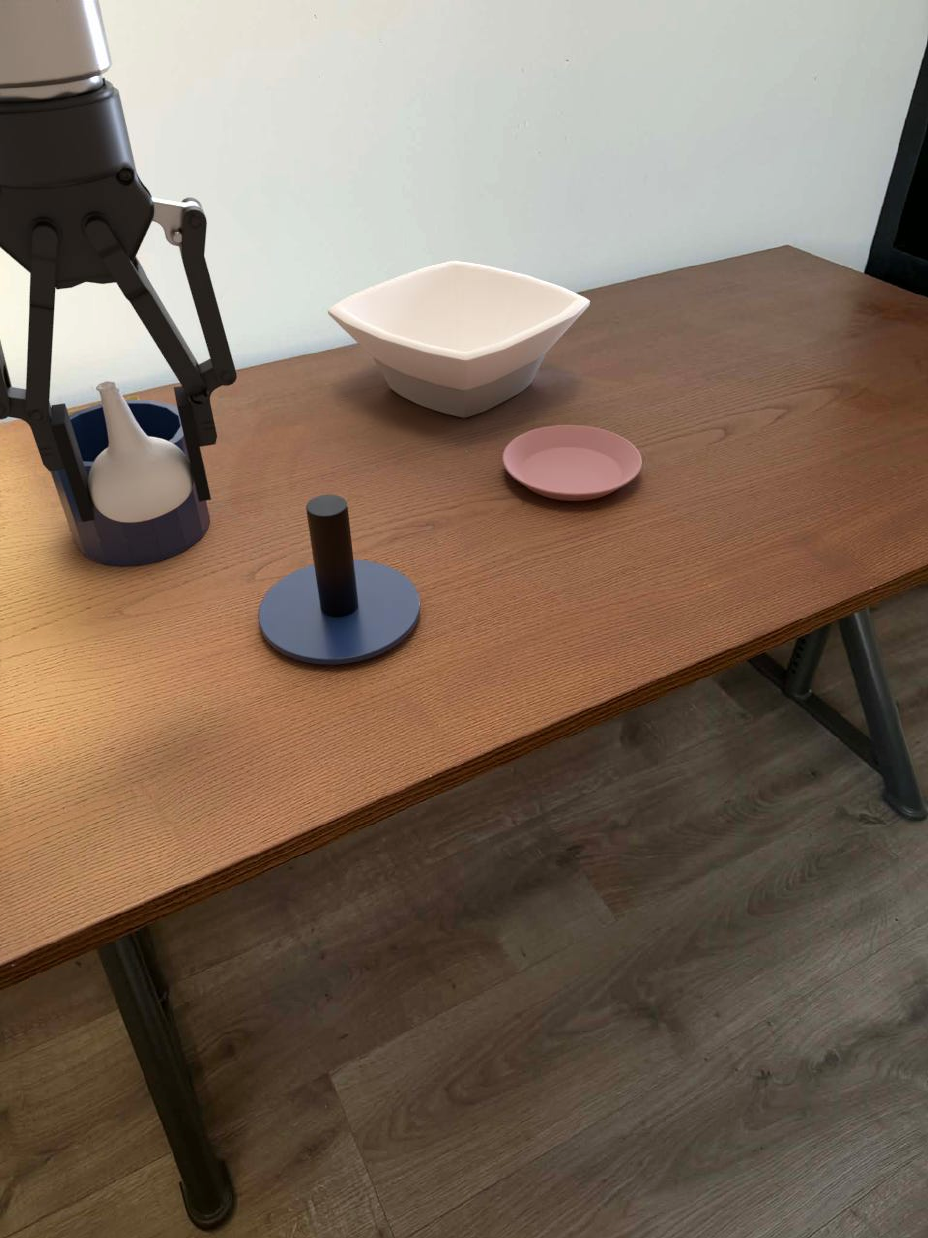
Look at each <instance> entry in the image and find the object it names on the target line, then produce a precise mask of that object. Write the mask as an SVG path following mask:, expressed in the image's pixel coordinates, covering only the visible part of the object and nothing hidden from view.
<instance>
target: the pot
mask: <svg viewBox="0 0 928 1238" xmlns="http://www.w3.org/2000/svg"><path fill="white" fill-rule="evenodd" d="M125 401H126V403H127V404H128V406H129V408H130V410H131V412H132V414H133V416H134V417H135V419H136V421H137V423H138V424H139V426H140V427H141V428H142V430H143V431H144V432H145V434H146V435H147V436H149V437H156V438H161V439H164V440H167V441H169V442H171V443H173V444H174V445H176V446H177V447H178V448H180V449H181V450H182V451H183V453H184V454H185V455H186V457H187V458H188V460H189V456H188V451H187V447H186V443H185V438H184V434H183V430H182V425H181V421H180V417H179V412H178V408H177V405H174V404H172V403H168V402H163V401H158V400H154V399H140V400H125ZM94 405H95V406H94ZM94 405H91V406H92V407H90V406H88V407H89V408H86V409H83V410H80V411H77V412H74V413H72V414H70V415H69V418H70V421H71V424H72V427H73V431H74V434H75V437H76V440H77V443H78V447H79V450H80V453H81V456H82V460H83V463H84V466H85V469H86V472H87V476H88V477H89V472H90V469H91V467H92V465H93V463H94V461H95V459H96V458H97V457H98V455H100V453H101V452H102V451H104V450H105V449H106V448H108V447H109V439H108V432H107V426H106V420H105V415H104V410H103V406H102V403H99V404H94ZM189 462H190V460H189ZM50 475H51V477H52V480H53V483H54V486H55V489H56V492H57V496H58V498H59V502H60V504H61V507H62V510H63V513H64V515H65V519H66V522H67V524H68V528H69V530H70V533H71V536H72V540H73V543H74V544H75V546H76V547H77V549H78V551H79V552H80V553H81V554H82V555H83V556H84V557H85V558H87V559H89V560H91V561H93V562H95V563H97V564H102V565H107V566H112V567H113V566H114V567H135V566H143V565H149V564H152V563H159V562H160V561H164V560H167V559H170V558H173V557H175V556H177V555H179V554H181V553H183V552H185V551H187V550H188V549H191V548H192V547H193V546H194V545H196V544H197V543H198V542H199V541H200V540H201V539H202V538H203V537H204V535H205V534H206V532H207V531H208V529H209V526H210V521H211V519H210V512H209V508H208V504H207V500H206V501H200V502H199V499H198V495H197V491H196V486H195V482H193V488H192V491H191V493H190V494H189V496H188V497H187V499H186V500H185V501H184V502H183V503H182V504H181V505H179V506H178V507H177V508H175V509H173V510H172V511H170V512H168V513H166V514H164V515H161V516H159V517H156V518H154V519H150V520H146V521H141V522H119V521H115V520H113V519H110V518H108V517H106V516H105V515H103V514H102V513H101V512H100V511H99V510H98V509H97V508H96V507H95V520H92V521H86V522H82V520H81V517H80V514H79V511H78V508H77V505H76V502H75V499H74V496H73V493H72V490H71V487H70V484H69V480H68V477H67V474H66V471H65V469H62V470H55V471H50Z"/></svg>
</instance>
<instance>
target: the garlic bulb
mask: <svg viewBox="0 0 928 1238" xmlns="http://www.w3.org/2000/svg"><path fill="white" fill-rule="evenodd" d="M95 390H96V391H98V393H99V395H100V400H101V404H102V406H103V410H104V415H105V420H106V426H107V432H108V439H109V447H108V448H106V449H105V450H104V451H102V452H101V453H100V455H98V457H97V458H96V459H95V461H94V463H93V465H92V467H91V469H90V472H89V477H88V489H89V494H90V497H91V499H92V501H93V503H94V505H95V507H96V508H97V509H98V510H99V511H100V512H101V513H102V514H103V515H105V516H106V517H108V518H110V519H113V520H115V521H119V522H141V521H146V520H150V519H154V518H156V517H159V516H161V515H164V514H166V513H168V512H170V511H172V510H173V509H175V508H177V507H178V506H179V505H181V504H182V503H183V502H184V501H185V500H186V499H187V497H188V496H189V494H190V493H191V491H192V488H193V482H194V478H193V473H192V469H191V465H190V462H189V460H188V458H187V457H186V455H185V454H184V453H183V451H182V450H181V449H180V448H178V447H177V446H176V445H174V444H173V443H171V442H169V441H167V440H164V439H161V438H156V437H149V436H147V435H146V434H145V432H144V431H143V430H142V428H141V427H140V426H139V424H138V423H137V421H136V419H135V417H134V416H133V414H132V412H131V410H130V408H129V406H128V404H127V403H126V401H125V400H124V396H123V395H122V393H121V392H120V388H119V387H118V386H117V385H116V382H114V381H109V380H106V381H103V382H101V383H98V385H96V388H95Z"/></svg>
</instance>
